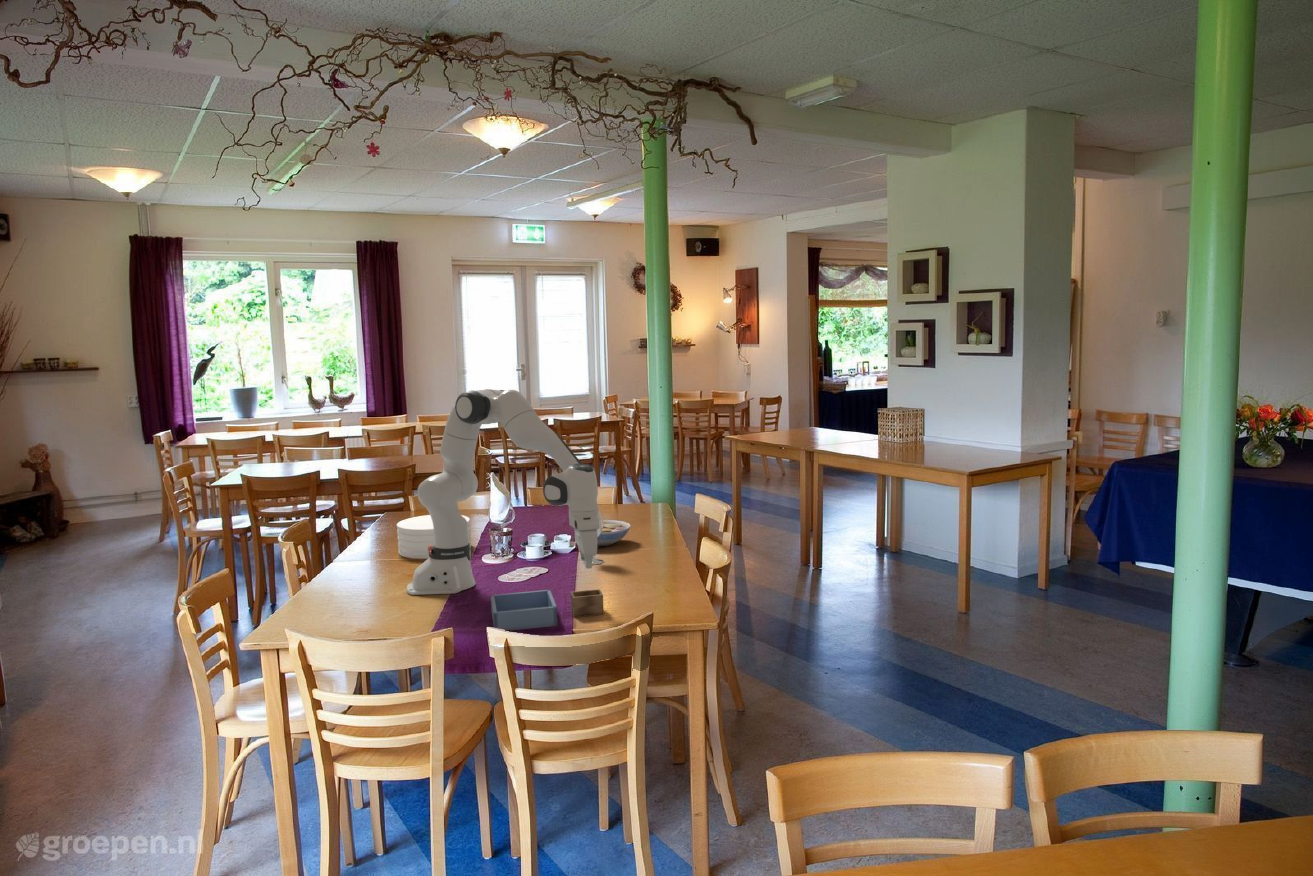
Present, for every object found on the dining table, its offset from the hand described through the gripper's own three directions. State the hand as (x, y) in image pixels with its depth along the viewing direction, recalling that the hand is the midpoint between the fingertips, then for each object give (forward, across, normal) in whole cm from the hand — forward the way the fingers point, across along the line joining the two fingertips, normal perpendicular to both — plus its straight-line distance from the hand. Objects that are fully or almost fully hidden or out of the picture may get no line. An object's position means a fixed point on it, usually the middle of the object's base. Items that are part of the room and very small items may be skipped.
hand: (586, 564), depth 260 cm
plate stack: (+14, -97, -46) cm, 109 cm away
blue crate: (+15, 0, -19) cm, 24 cm away
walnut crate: (+15, 0, 0) cm, 15 cm away
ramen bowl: (+15, -83, +19) cm, 87 cm away
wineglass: (+15, -57, +11) cm, 60 cm away
